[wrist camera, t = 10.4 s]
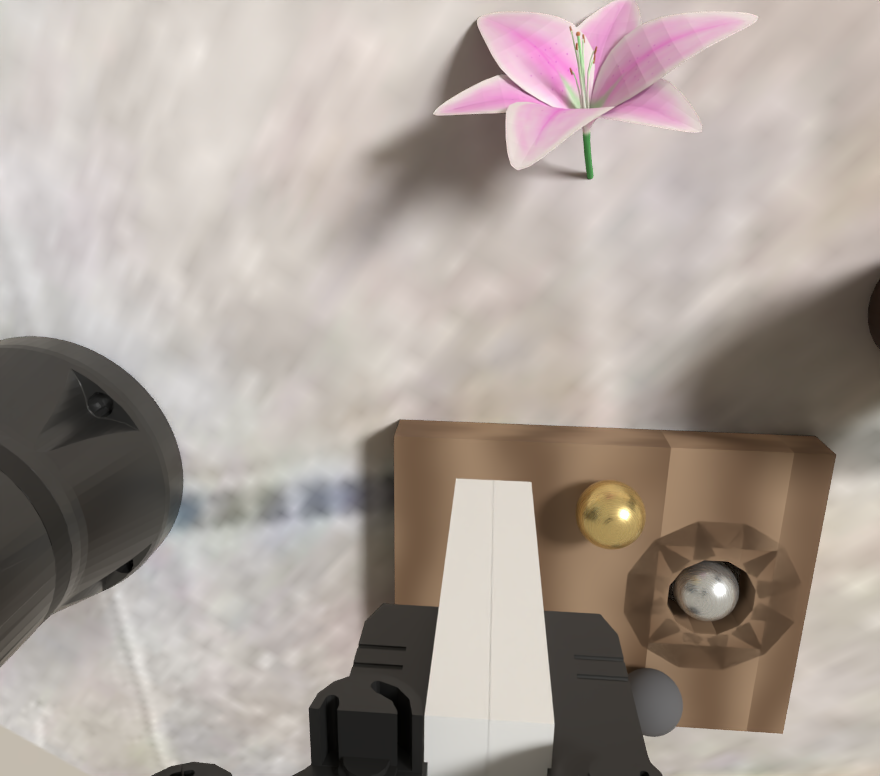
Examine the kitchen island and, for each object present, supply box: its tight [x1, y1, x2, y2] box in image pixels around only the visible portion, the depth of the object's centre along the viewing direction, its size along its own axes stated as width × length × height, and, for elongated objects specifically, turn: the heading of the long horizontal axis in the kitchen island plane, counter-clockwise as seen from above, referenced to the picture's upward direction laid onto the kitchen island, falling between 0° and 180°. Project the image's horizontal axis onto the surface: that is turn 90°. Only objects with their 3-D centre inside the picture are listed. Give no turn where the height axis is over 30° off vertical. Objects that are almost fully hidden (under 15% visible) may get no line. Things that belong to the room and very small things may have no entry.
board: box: [394, 420, 836, 734], centre depth 41 cm, size 22×17×2 cm
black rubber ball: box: [628, 668, 683, 737], centre depth 40 cm, size 3×3×3 cm
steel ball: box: [673, 560, 739, 621], centre depth 40 cm, size 3×3×3 cm
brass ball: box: [575, 480, 646, 550], centre depth 37 cm, size 3×3×3 cm
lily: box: [433, 0, 759, 179], centre depth 32 cm, size 12×12×10 cm
